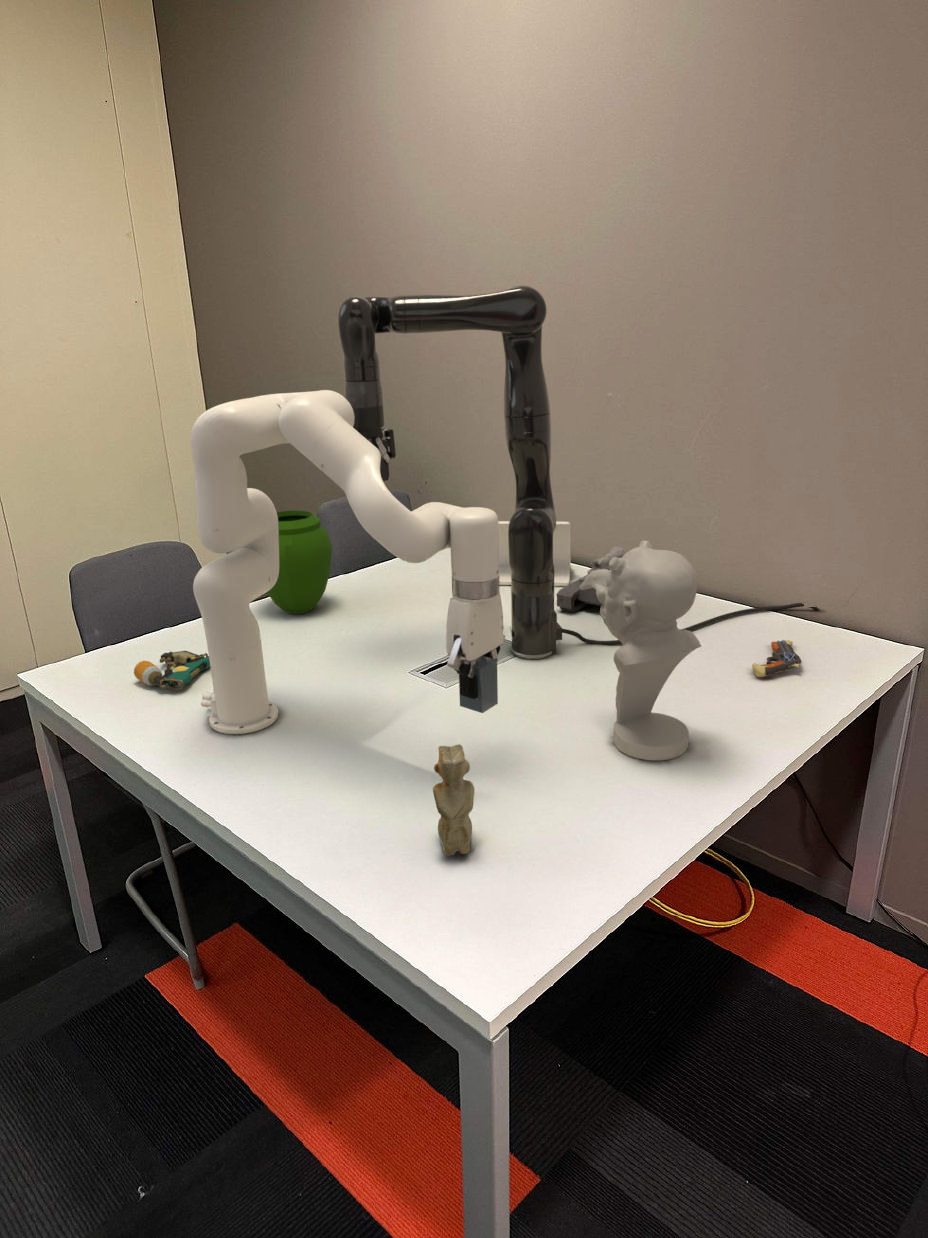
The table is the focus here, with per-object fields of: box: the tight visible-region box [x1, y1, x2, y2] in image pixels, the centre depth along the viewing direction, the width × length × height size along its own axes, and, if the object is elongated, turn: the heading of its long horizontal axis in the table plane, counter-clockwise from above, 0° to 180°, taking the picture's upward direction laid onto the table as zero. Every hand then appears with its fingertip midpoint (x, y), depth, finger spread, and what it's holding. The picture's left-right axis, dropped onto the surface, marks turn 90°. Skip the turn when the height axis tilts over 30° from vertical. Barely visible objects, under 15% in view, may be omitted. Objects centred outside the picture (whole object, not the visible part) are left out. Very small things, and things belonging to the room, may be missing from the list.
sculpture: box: [432, 743, 475, 856], centre depth 119 cm, size 6×7×15 cm
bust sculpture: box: [579, 540, 702, 761], centre depth 146 cm, size 16×24×35 cm
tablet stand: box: [498, 520, 572, 587], centre depth 236 cm, size 18×25×17 cm
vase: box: [266, 510, 333, 615], centre depth 213 cm, size 20×20×24 cm
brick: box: [458, 656, 499, 714], centre depth 141 cm, size 4×5×8 cm
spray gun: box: [133, 650, 210, 690], centre depth 180 cm, size 4×17×15 cm
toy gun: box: [751, 639, 804, 678], centre depth 178 cm, size 3×19×10 cm
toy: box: [556, 546, 626, 613], centre depth 212 cm, size 25×20×15 cm
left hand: (478, 690), depth 141 cm, fingers closed on brick, 4 cm apart
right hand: (369, 484), depth 176 cm, fingers open, 8 cm apart
